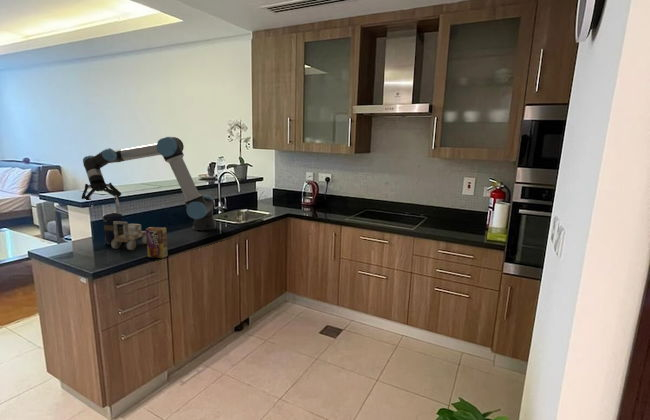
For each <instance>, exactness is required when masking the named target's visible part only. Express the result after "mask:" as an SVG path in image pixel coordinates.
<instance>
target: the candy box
mask: <svg viewBox="0 0 650 420" xmlns="http://www.w3.org/2000/svg"><path fill="white" fill-rule="evenodd" d="M145 231H146V236H147V244H146V248H147V258H161V259H164V258H166V257H168V255H169V254H168V237H167V235H168V234H167V227H158V226H157V227H155V226H150V227H147V228H145Z"/></svg>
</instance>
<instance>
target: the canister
mask: <svg viewBox="0 0 650 420" xmlns="http://www.w3.org/2000/svg"><path fill="white" fill-rule="evenodd" d="M123 218H124V216H123V214H121V213H117V212H112V213H108V214H104V215H103V217H102V219H103V220H102V221H103V232H104V237H105V238H104V241H105V244H106V245H111V242H112V240H113V239H114V226H113V221H121V222H124V219H123ZM123 226H124V224H117V230H118V236H120V235H123V234H124V229H123ZM123 243H124V242H121V244H123Z"/></svg>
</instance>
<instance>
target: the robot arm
mask: <svg viewBox="0 0 650 420" xmlns="http://www.w3.org/2000/svg"><path fill="white" fill-rule="evenodd" d="M184 146H185V145H184V143H183V141H182V140H181V139H180V138H178V137H176V136H163V137H161V138H160V139H158V140H157V142H156V143H150V144H147V145H140V146H135V147H129V148H124V149H117V150H114V149H113V148H110V147H107V148H105V149H104V150H102V151H100V152H98V153H97V154H96V155H86V156H84V157H83V158H82V163H83V168H84V169H85V172H86V175H87V178H88V181H89V184H88V183H85V184H84V190H83V191H82V195H81V199H82V200H85V199H86V200H91V201H92V198H91V197H92V195H93V194H94V193H95V192H105V193H108V194H109V195H111V196H113V197H114V200H115V198H116V200H115V201H114V202H115V204H116V206H117V207H120V204H121V203H120V200H121V199H120V197H121V196H122V193H121V192H120V191H119V189H117V188H116V186H114V185H113V184H112V182H109V183H106V181H105V178H104V177H103V173H102V170H101V169H102V168H104V166H106V165H108V164H114V163H122V162H125V161H127V162H128V161H133V160H139V159H144V158H149V157H150V158H151V157H155V156H156V157H157V156H162V158H163V159H164V160H163V161H165V162H166V163H168V164H169V166H170V168H171V170H172V173H173V175H174V176H175V177H174V178H175V179H176V181H177V183H178V185H179V188H180V189H181V192H182V193H183V196H184V197H185V200H184V203H185V206H186V213H187V215H188V216H189V217H190V218H191V219H194V221H193V225H192V230H193V229H194V231H197V230H201V231H200V232H205V231H204V230H209V231H212V229H213V230H215V229H217V224H216V221H215V218H214V206H213V205H214V204H213V202H214V200H213V196H211V195H203V194H201V193H200V192H199V190H198V189H197V186H196V184H195V182H194V180H193V178H192V175H191V173H190V171H189V169H188V166H187V165H186V162H185V161H184V155H185V154H184V152H183V151H184V148H185V147H184ZM88 189H90V191H89V192H88ZM87 192H88V193H87ZM86 200H85V201H86ZM93 209H94V204H93V205H91V207H90V210H93ZM202 230H203V231H202Z"/></svg>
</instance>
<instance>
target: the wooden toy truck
mask: <svg viewBox="0 0 650 420" xmlns="http://www.w3.org/2000/svg"><path fill="white" fill-rule="evenodd" d="M117 224H123V229H124V234H123V235H120V236H118V230H117ZM113 226H114V239H113V240H112V242H111V248H112V249H116V250H117V249H120V247H121V246H122V243H121V242H123V243H126V248H127V250H128V251H134V250H135V249H136V248H137V241H136V240H138V238H139V239H140V238H141V239H140V240H141V243H142V244H144V245H147V236H146V230H142V224H140V223H128V221H123V222H121V221H113Z"/></svg>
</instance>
